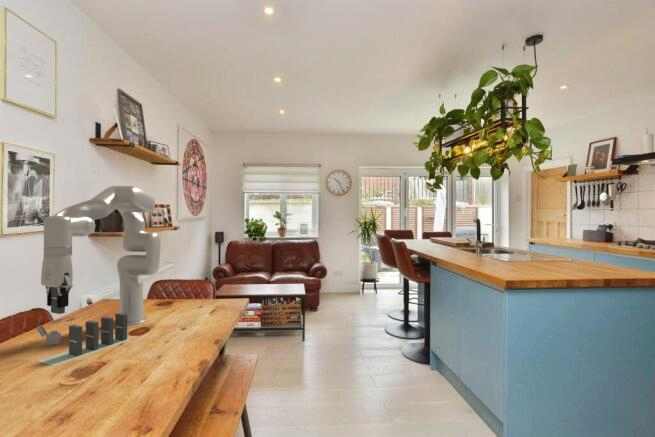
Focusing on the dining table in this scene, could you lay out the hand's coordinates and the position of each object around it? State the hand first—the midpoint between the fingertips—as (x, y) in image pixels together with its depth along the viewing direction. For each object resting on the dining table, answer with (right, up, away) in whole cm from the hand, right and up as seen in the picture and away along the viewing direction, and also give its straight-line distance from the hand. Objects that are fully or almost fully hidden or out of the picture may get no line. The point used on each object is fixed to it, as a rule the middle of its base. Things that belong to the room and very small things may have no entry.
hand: (57, 305), depth 112 cm
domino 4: (+7, -19, +15) cm, 25 cm away
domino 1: (0, -2, 0) cm, 2 cm away
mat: (+3, -19, +10) cm, 22 cm away
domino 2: (+2, -19, +5) cm, 20 cm away
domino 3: (+5, -19, +10) cm, 22 cm away
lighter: (-15, -19, +15) cm, 29 cm away
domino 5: (+9, -19, +20) cm, 29 cm away
